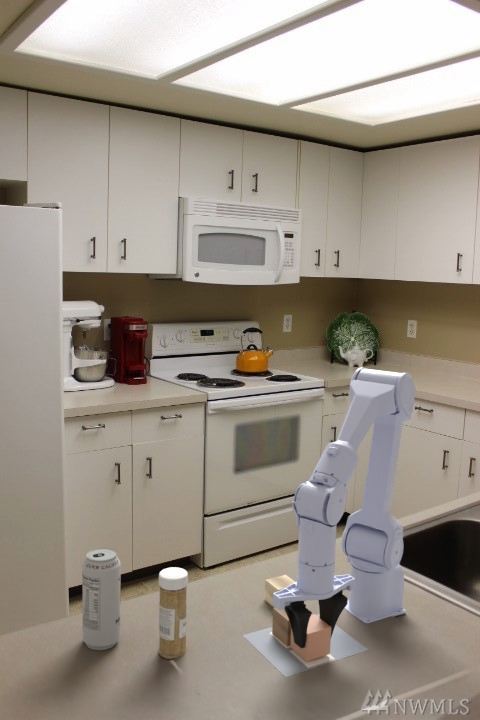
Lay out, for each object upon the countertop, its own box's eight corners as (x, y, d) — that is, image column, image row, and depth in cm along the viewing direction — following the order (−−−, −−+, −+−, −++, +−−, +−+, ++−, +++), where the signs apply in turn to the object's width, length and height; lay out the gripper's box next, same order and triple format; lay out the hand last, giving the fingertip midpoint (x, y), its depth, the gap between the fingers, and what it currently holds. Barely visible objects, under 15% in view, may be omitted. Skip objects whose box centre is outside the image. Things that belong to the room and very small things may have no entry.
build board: (320, 615, 119) (320, 613, 119) (368, 652, 108) (368, 649, 108) (242, 638, 111) (242, 635, 111) (285, 680, 100) (285, 677, 100)
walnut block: (294, 626, 114) (295, 602, 114) (309, 639, 110) (310, 614, 110) (272, 633, 112) (273, 608, 111) (287, 646, 108) (288, 620, 108)
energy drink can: (125, 645, 108) (126, 557, 106) (89, 656, 105) (89, 565, 103) (112, 628, 113) (112, 543, 111) (77, 637, 110) (77, 550, 108)
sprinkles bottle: (191, 655, 106) (193, 574, 104) (166, 663, 103) (167, 581, 102) (178, 641, 110) (179, 563, 108) (152, 649, 107) (153, 569, 105)
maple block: (284, 597, 126) (285, 574, 125) (298, 608, 122) (299, 584, 121) (264, 602, 124) (265, 579, 123) (277, 613, 120) (278, 590, 119)
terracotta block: (313, 639, 110) (314, 614, 109) (330, 653, 106) (331, 627, 105) (290, 646, 107) (291, 620, 107) (306, 661, 103) (307, 634, 103)
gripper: (337, 541, 111) (333, 618, 113) (263, 557, 104) (260, 639, 106) (365, 557, 105) (361, 638, 107) (288, 576, 98) (285, 662, 100)
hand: (312, 640), depth 106 cm, fingers closed on terracotta block, 4 cm apart
